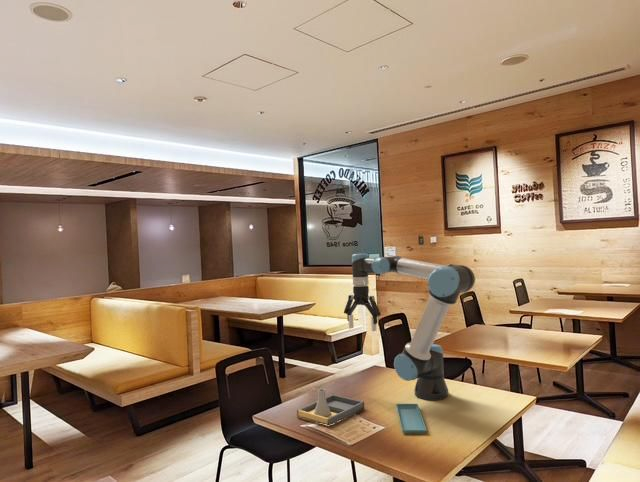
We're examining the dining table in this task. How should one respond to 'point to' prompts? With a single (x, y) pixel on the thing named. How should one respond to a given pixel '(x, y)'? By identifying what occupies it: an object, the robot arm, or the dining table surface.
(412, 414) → the shallow long dish
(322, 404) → the flask
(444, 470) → the dining table surface
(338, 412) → the caddy
